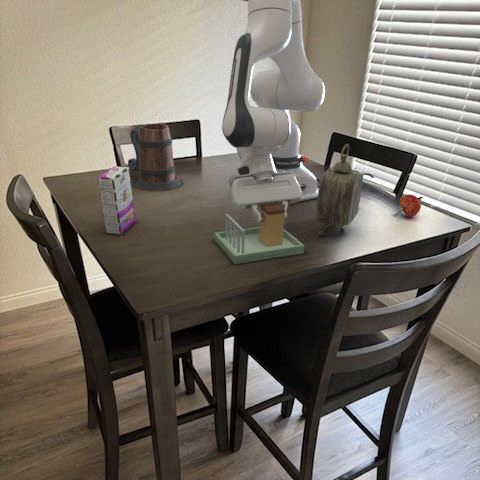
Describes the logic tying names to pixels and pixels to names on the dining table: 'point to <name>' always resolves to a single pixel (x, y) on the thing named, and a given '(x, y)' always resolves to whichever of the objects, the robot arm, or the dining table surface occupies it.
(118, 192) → the candy bar box
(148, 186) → the tankard
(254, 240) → the dish rack
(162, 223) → the dining table surface
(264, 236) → the kraft box
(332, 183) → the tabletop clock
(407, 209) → the pomegranate
